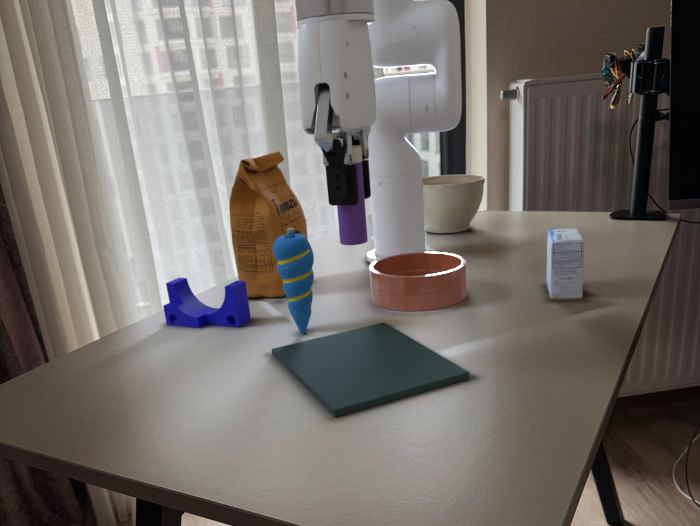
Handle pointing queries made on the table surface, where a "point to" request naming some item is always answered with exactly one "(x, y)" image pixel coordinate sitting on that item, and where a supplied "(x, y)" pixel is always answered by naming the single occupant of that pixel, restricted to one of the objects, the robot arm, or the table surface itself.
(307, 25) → the robot arm
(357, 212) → the glue stick
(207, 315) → the blue pipe cradle
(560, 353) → the table surface
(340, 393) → the mat
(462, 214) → the planter bowl
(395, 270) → the bowl
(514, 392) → the table surface
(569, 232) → the medicine box
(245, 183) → the coffee package
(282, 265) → the ornament
